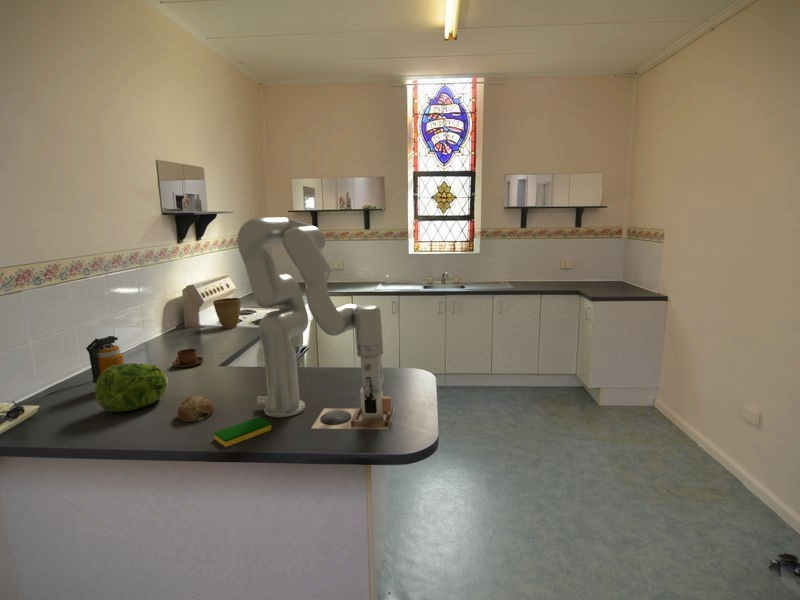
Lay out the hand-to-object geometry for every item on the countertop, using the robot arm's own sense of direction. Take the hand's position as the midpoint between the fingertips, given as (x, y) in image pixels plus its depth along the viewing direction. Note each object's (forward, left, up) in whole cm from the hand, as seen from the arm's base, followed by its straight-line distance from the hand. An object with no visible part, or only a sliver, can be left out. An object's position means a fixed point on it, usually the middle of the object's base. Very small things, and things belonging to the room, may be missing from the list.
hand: (373, 405), depth 137 cm
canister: (-102, +24, -5) cm, 105 cm away
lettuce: (-81, +10, -5) cm, 82 cm away
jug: (+1, 0, -4) cm, 4 cm away
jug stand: (-6, 0, -5) cm, 8 cm away
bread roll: (-57, +3, -5) cm, 58 cm away
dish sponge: (-36, -9, -6) cm, 38 cm away
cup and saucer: (-89, +54, -5) cm, 105 cm away
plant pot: (-104, +123, -5) cm, 161 cm away
